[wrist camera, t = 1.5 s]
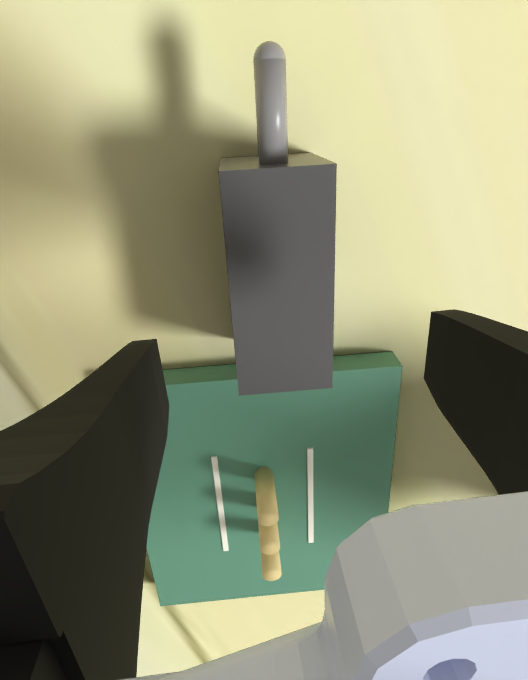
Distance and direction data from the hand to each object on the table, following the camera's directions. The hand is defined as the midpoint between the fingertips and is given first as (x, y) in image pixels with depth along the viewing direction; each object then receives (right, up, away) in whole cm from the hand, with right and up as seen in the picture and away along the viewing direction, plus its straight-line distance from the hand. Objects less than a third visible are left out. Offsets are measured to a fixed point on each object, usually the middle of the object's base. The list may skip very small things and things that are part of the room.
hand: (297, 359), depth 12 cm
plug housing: (-1, +6, +8) cm, 10 cm away
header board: (-1, -8, +14) cm, 16 cm away
